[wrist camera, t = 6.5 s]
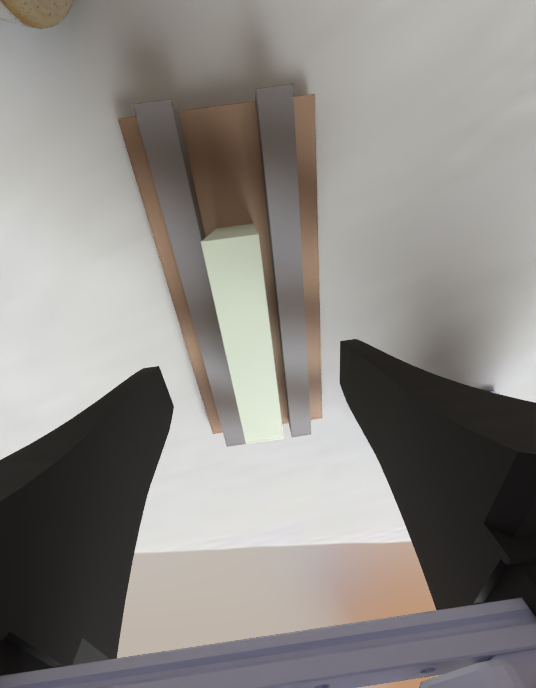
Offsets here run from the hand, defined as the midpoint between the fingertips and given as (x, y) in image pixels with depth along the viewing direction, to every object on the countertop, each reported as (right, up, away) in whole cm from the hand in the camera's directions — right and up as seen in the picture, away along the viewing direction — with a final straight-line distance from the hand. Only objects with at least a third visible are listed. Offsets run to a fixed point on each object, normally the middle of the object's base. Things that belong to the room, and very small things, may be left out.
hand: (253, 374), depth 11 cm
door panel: (-1, +3, +6) cm, 7 cm away
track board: (-1, +4, +7) cm, 8 cm away
